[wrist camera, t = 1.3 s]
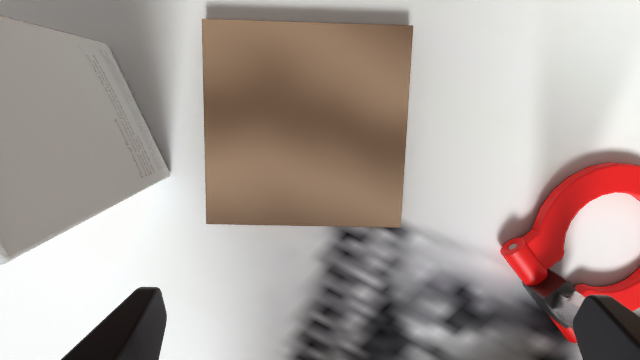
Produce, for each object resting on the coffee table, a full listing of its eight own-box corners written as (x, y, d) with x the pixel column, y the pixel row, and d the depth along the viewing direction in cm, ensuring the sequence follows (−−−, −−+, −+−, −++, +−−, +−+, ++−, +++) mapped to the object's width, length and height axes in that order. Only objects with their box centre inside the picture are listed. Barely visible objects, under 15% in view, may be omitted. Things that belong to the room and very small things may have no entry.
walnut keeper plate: (397, 223, 23) (400, 227, 23) (209, 219, 23) (206, 223, 22) (409, 28, 22) (413, 25, 21) (205, 21, 21) (202, 18, 20)
